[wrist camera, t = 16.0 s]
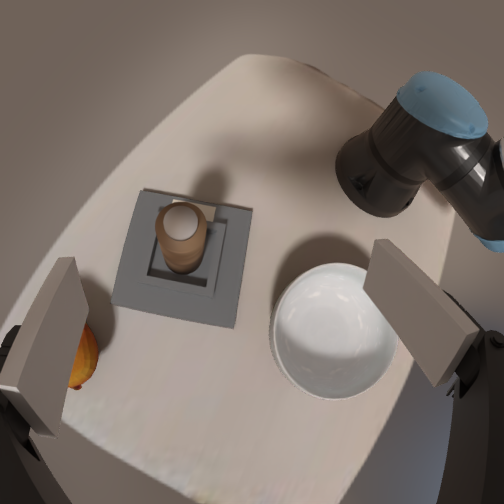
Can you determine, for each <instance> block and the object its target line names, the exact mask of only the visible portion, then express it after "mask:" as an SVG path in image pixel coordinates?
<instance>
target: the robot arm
mask: <svg viewBox="0 0 504 504" xmlns="http://www.w3.org/2000/svg"><path fill="white" fill-rule="evenodd" d="M487 128H488V119H487V116H486V114H485V112H484V110H483V109H482V108H481V107H480V106H479V103H478V101H477V100H476V99H475V98H474V97H473V96H472V95H471V94H470V93H469V92H468V91H467V90H466V89H465V88H463V87H462V86H461V85H459V84H458V83H457V82H455V81H453V80H452V79H450V78H448V77H446V76H444V75H442V74H438V73H435V72H430V71H422V72H419V73H416V74H415V75H413V76H412V77H411V78H410V80H409V81H408V82H407V83H406V84H405V85H404V86H402V87H401V88H400V89H399V90H398V92H397V96H396V97H395V98H394V99H393V101H392V102H391V103H390V105H389V106H388V107H387V108H386V110H385V111H384V112H383V113H382V115H381V116H380V117H379V118H378V120H377V121H376V122H375V123H374V125H373V126H372V127H371V128H370V129H369V130H367V131H365V132H363V133H362V134H360V135H358V136H355V137H353V138H351V139H350V140H348V141H347V142H346V143H345V144H344V146H343V147H342V149H341V150H340V151H339V153H338V155H337V158H336V174H337V178H338V181H339V183H340V185H341V187H342V189H343V191H344V192H345V194H346V195H347V196H348V197H349V199H350V200H351V201H352V202H353V203H354V204H355V205H356V206H358V207H359V208H360V209H362V210H363V211H365V212H367V213H369V214H371V215H373V216H377V217H382V218H388V217H393V216H396V215H398V214H399V213H401V212H402V211H404V210H405V209H406V208H407V207H408V206H409V205H410V204H411V203H412V201H413V199H414V197H415V195H416V194H417V192H418V190H419V188H420V186H421V184H422V183H423V182H424V181H425V180H427V179H429V180H430V181H431V182H432V183H433V184H434V185H435V187H436V188H437V189H438V190H439V191H440V192H441V194H442V195H443V196H444V197H445V198H446V199H447V201H448V202H449V203H450V204H451V205H452V207H453V208H454V209H455V210H456V212H457V213H458V214H459V215H460V217H461V218H462V219H463V221H464V222H465V223H466V224H467V226H468V227H469V229H470V230H471V232H472V233H473V235H474V236H475V237H477V238H478V239H479V240H480V241H481V243H482V244H483V245H484V246H485V247H486V248H488V249H489V250H491V251H494V252H500V253H502V252H504V137H503V138H502V139H500V140H499V141H498V142H495V141H494V140H493V139H492V138H491V137H490V135H489V134H488V133H487ZM362 289H363V290H364V291H365V292H366V294H367V295H368V296H369V298H370V299H371V300H372V302H373V303H374V304H375V306H376V307H377V308H378V309H379V311H380V312H381V313H382V315H383V316H384V317H385V319H386V320H387V322H388V323H389V324H390V326H391V327H392V328H393V330H394V331H395V332H396V334H397V335H398V337H399V338H400V339H401V341H402V342H403V343H404V345H405V346H406V348H407V349H408V350H409V352H410V353H411V355H412V356H413V358H414V359H415V360H416V362H417V363H418V365H419V366H420V367H421V369H422V370H423V372H424V373H425V375H426V376H427V378H428V379H429V380H430V382H431V383H432V385H433V387H437V386H439V385H441V384H444V383H446V382H448V381H449V379H450V378H451V376H452V375H453V373H454V372H456V374H457V375H458V378H457V379H456V380H455V382H454V383H453V384H452V386H451V388H450V389H449V390H448V391H447V395H446V396H448V395H450V393H451V392H452V390H454V394H453V395H452V397H453V398H454V401H453V413H452V422H451V431H450V438H449V445H448V452H447V457H446V463H445V469H444V473H443V478H442V483H441V487H440V491H439V496H438V500H437V503H436V504H504V336H503V335H502V334H501V333H499V332H497V331H493V330H490V331H487V332H486V331H484V329H483V328H482V327H481V326H480V325H479V324H478V323H477V322H476V321H475V319H474V318H473V317H472V316H471V315H470V314H469V313H468V312H467V311H465V310H464V308H463V307H462V306H461V305H459V303H458V302H457V301H456V300H455V299H454V298H453V297H452V296H451V295H450V294H448V293H447V292H445V291H444V290H442V289H440V287H439V286H438V285H436V284H435V283H434V282H433V281H432V280H431V279H430V278H429V277H428V276H427V275H426V274H425V273H424V272H423V271H422V270H421V269H420V268H419V267H418V266H417V265H416V264H415V263H414V262H413V261H412V260H410V259H409V258H408V257H407V256H406V255H405V254H404V253H403V252H402V251H401V250H400V249H399V248H397V247H396V246H395V245H394V244H393V243H392V242H391V241H390V240H389V239H378V240H375V242H374V246H373V250H372V254H371V258H370V262H369V266H368V270H367V274H366V278H365V281H364V285H363V288H362ZM89 310H90V309H89V306H88V303H87V300H86V297H85V293H84V290H83V287H82V283H81V280H80V276H79V273H78V269H77V265H76V261H75V257H62V258H58V260H57V261H56V263H55V265H54V266H53V268H52V270H51V271H50V273H49V275H48V277H47V278H46V280H45V282H44V284H43V285H42V287H41V289H40V291H39V293H38V294H37V296H36V298H35V300H34V302H33V304H32V306H31V308H30V309H29V311H28V313H27V315H26V317H25V319H24V321H23V323H22V325H15V326H14V327H13V328H12V329H11V330H10V331H9V332H8V333H7V334H6V336H5V338H4V340H3V342H2V344H1V348H0V504H72V503H71V502H70V500H69V499H68V497H67V496H66V494H65V493H64V491H63V490H62V488H61V487H60V485H59V484H58V482H57V481H56V479H55V478H54V477H53V475H52V473H51V471H50V470H49V468H48V466H47V465H46V463H45V462H44V460H43V458H42V456H41V455H40V453H39V451H38V449H37V447H36V446H35V444H34V442H33V440H32V439H31V438H30V436H29V431H30V427H31V428H32V429H33V430H34V431H35V432H36V433H37V434H38V435H39V436H44V437H50V438H58V433H59V427H60V422H61V417H62V412H63V407H64V402H65V397H66V393H67V388H68V384H69V380H70V376H71V372H72V368H73V364H74V360H75V356H76V353H77V349H78V346H79V342H80V339H81V335H82V332H83V329H84V325H85V322H86V319H87V316H88V313H89Z"/></svg>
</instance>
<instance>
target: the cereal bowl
mask: <svg viewBox="0 0 504 504" xmlns="http://www.w3.org/2000/svg"><path fill="white" fill-rule="evenodd" d="M366 274H367V270H365V269H363V268H361V267H358V266H355V265H352V264H347V263H338V262H336V263H326V264H322V265H319V266H316V267H313V268H311V269H309V270H307V271H305V272H303V273H302V274H301V275H299V276H297V277H296V278H295V279H294V280H293V281H292V282H291V283H290V284H289V285H288V286H287V287H286V288H285V289H284V291H283V292H282V293H281V295H280V296H279V298H278V300H277V302H276V304H275V307H274V309H273V312H272V316H271V320H270V325H269V340H270V348H271V352H272V355H273V357H274V360H275V362H276V364H277V366H278V368H279V369H280V371H281V372H282V374H283V375H284V376H285V378H287V380H288V381H289V382H290V383H291V384H292V385H294V386H295V387H296V388H298V389H299V390H301V391H302V392H304V393H306V394H308V395H310V396H313V397H315V398H320V399H323V400H344V399H349V398H352V397H355V396H358V395H360V394H362V393H364V392H366V391H367V390H369V389H370V388H372V387H373V386H374V385H375V384H377V383H378V382H379V381H380V380H381V379H382V377H383V376H384V375H385V374H386V372H387V371H388V369H389V367H390V366H391V364H392V361H393V359H394V357H395V354H396V350H397V346H398V341H399V337H398V335H397V334H396V332H395V331H394V330H393V328H392V327H391V326H390V324H389V323H388V322H387V320H386V319H385V317H384V316H383V315H382V313H381V312H380V311H379V309H378V308H377V307H376V306H375V304H374V303H373V302H372V300H371V299H370V298H369V296H368V295H367V294H366V292H365V291H364V290H363V289H362V288H363V285H364V281H365V278H366Z"/></svg>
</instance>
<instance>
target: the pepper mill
mask: <svg viewBox="0 0 504 504" xmlns="http://www.w3.org/2000/svg"><path fill="white" fill-rule="evenodd" d="M206 230H207V222H206V218H205V216H204V214H203V212H202V211H201V210H200V209H199V208H198V207H197V206H195V205H194V204H191V203H189V202H174V203H171V204H169V205H167V206H166V207H164V208H163V209H162V210H161V211H160V213H159V214H158V216H157V218H156V222H155V232H156V235H157V238H158V242H159V245H160V248H161V251H162V254H163V257H164V260H165V263H166V265H167V267H168V268H169V269H170V270H171V271H172V272H174V273H176V274H179V275H187V274H190V273H193V272H194V271H196V270H197V269H198V268H199V266H200V264H201V262H202V258H203V251H204V244H205V237H206Z"/></svg>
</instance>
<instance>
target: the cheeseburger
mask: <svg viewBox="0 0 504 504" xmlns="http://www.w3.org/2000/svg"><path fill="white" fill-rule="evenodd" d="M97 362H98V346H97V342H96V340H95V337H94V335H93V333H92V331H91V330H90V328H89V327H88V325H87V323H86V322H85V325H84V329H83V332H82V335H81V339H80V342H79V346H78V349H77V353H76V356H75V360H74V364H73V368H72V372H71V376H70V380H69V384H68V387H70V388H72V389H74V390H80V389H81V388H82V386H81V384H83V383H84V382H86V381H87V380H88V379H89V378H91V376H92V374H93V373H94V371H95V369H96V366H97Z"/></svg>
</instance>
